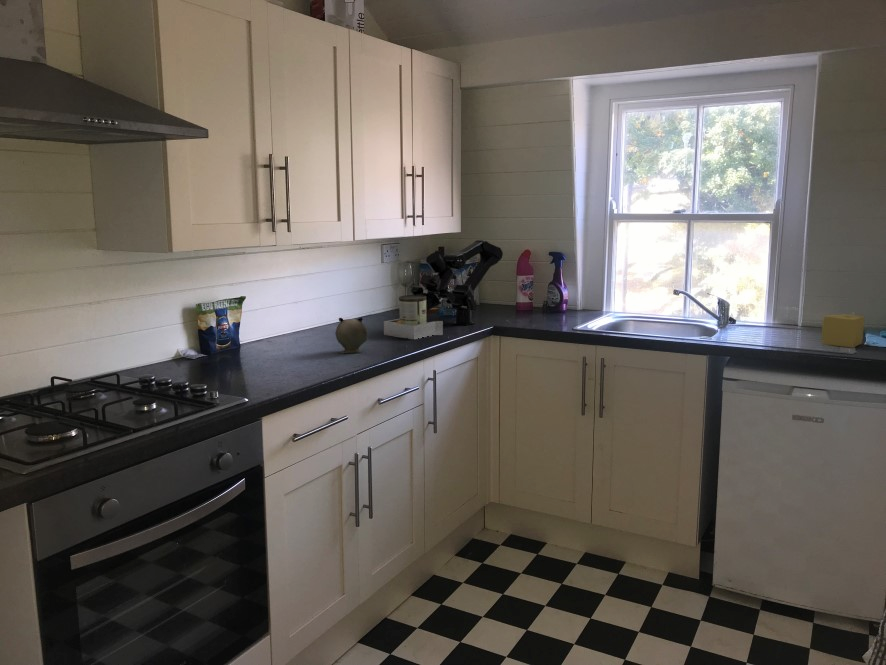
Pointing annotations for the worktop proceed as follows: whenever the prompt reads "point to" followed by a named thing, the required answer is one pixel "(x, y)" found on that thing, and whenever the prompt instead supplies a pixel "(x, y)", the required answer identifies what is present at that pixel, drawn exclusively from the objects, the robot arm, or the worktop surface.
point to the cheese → (842, 330)
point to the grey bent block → (412, 329)
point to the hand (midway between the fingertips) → (422, 312)
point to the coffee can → (412, 309)
